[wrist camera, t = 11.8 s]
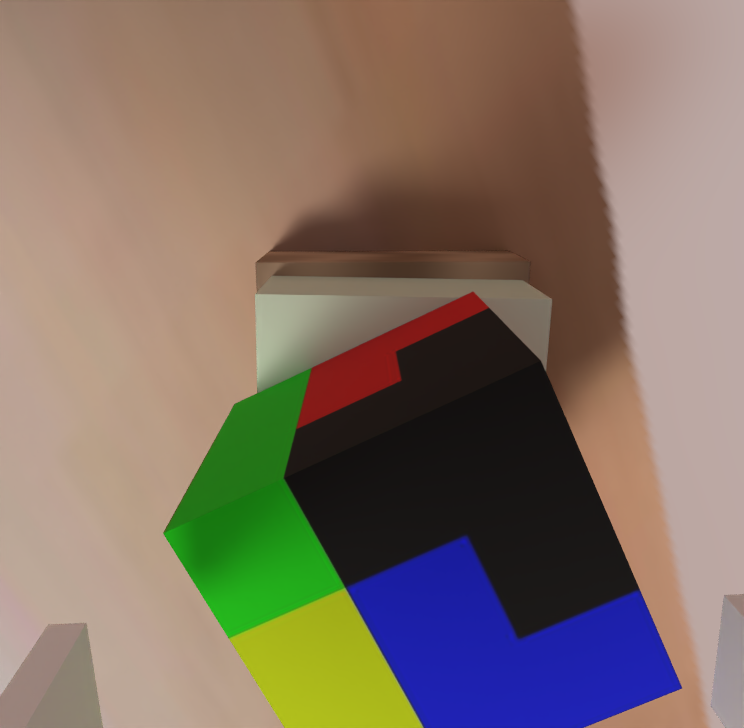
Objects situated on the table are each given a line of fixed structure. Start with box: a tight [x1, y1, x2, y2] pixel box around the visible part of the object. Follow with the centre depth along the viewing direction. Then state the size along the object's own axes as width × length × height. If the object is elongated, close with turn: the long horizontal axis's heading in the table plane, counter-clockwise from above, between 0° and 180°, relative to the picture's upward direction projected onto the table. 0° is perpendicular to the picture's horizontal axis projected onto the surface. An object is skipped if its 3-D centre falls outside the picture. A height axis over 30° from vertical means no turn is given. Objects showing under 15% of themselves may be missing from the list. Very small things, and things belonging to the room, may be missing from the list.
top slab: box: [255, 276, 552, 393], centre depth 30 cm, size 11×11×5 cm
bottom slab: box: [256, 251, 530, 291], centre depth 34 cm, size 12×12×5 cm
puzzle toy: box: [163, 292, 682, 728], centre depth 23 cm, size 10×10×10 cm
